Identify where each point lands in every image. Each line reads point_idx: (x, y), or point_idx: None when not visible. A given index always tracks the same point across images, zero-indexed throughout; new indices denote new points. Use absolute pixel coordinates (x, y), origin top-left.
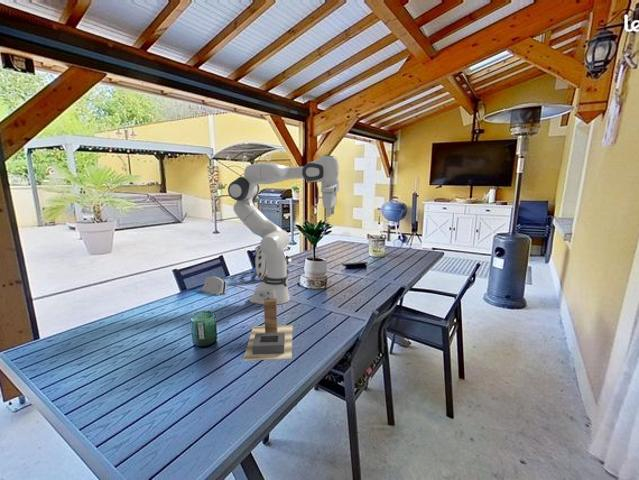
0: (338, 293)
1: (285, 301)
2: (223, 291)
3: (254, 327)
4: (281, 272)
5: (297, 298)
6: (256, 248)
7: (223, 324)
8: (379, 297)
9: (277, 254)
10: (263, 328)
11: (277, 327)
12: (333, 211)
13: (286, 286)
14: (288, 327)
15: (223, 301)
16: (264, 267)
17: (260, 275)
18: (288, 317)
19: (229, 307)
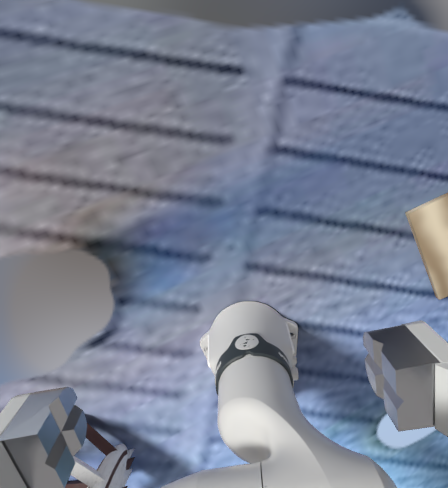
0: (112, 186)
1: (262, 305)
2: None
3: (445, 293)
4: (278, 374)
5: (215, 289)
6: None
7: None
8: (73, 19)
9: (331, 441)
10: (446, 271)
11: (433, 242)
12: (43, 428)
13: (248, 333)
14: (426, 216)
15: None
16: (115, 476)
17: (130, 460)
18: (352, 249)
19: (340, 408)
